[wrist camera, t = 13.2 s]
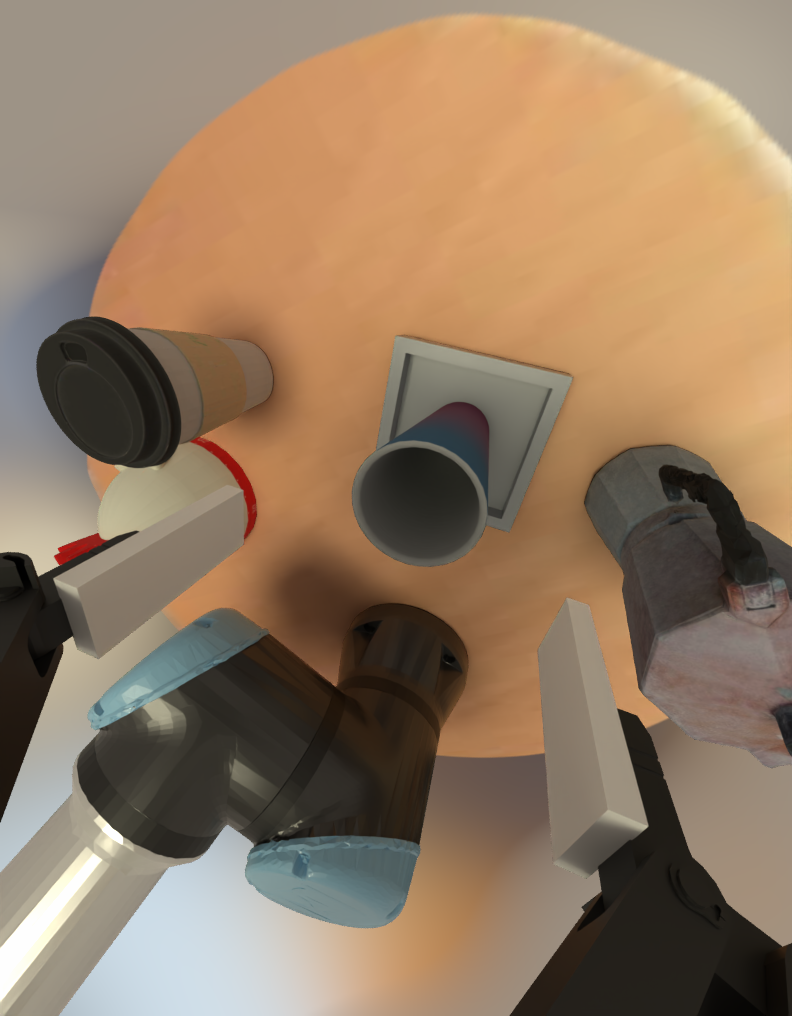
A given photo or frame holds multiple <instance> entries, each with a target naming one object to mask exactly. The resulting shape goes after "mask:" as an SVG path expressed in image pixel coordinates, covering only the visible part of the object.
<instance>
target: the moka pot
mask: <svg viewBox="0 0 792 1016" xmlns="http://www.w3.org/2000/svg"><path fill="white" fill-rule="evenodd" d="M584 504H585V507H586V510H587V512H588V514H589V516H590V518H591V520H592V523H593V525H594V527H595V529H596V531H597V533H598V534H599V536H600V537H601V538H602V540H603V541H604V543H605V545H606V546H607V548H608V549H609V550H610V552H611V553H612V555H613V556H614V558H615V560H616V561H617V562H618V564H619V565H620V567H621V568H622V570H623V573H624V581H623V587H622V592H623V599H624V604H625V609H626V615H627V622H628V627H629V632H630V638H631V644H632V650H633V657H634V663H635V667H636V674H637V680H638V687H639V689H640V691H641V692H642V694H643V695H644V696H645V697H646V698H647V699H649V700H650V701H651V702H652V703H653V704H654V705H655V706H657V707H658V708H659V709H660V710H661V711H662V712H663V713H664V714H666V715H667V716H668V717H669V718H670V719H671V720H672V721H673V722H674V723H675V724H676V725H678V726H679V727H680V728H681V729H682V730H683V731H684V732H685V733H686V734H687V735H688V736H690V737H692V738H693V739H695V740H700V741H705V742H711V743H715V744H720V745H725V746H733V747H737V748H741V749H745V750H748V751H749V752H750V753H751V754H752V755H753V756H755V757H756V758H757V759H758V760H759V761H760V762H761V763H762V764H763V765H764V766H767V767H770V768H774V767H778V766H784V765H792V547H791V546H789V545H788V544H786V543H785V542H783V541H782V540H780V539H779V538H777V537H776V536H774V535H773V534H771V533H770V532H768V531H767V530H765V529H764V528H762V527H760V526H759V525H757V524H756V523H754V522H748V521H747V520H746V519H745V518H744V516H743V514H742V512H741V511H740V508H739V505H738V503H737V501H736V500H735V499H734V498H733V494H732V493H731V492H730V491H729V490H728V489H727V487H726V486H725V485H724V484H723V483H722V482H721V480H720V478H719V477H718V475H717V474H716V472H715V471H714V469H713V468H712V466H711V465H710V463H708V462H707V461H705V460H704V459H702V458H700V457H699V456H697V455H695V454H693V453H691V452H689V451H686V450H684V449H681V448H679V447H676V446H651V447H642V448H634V449H629V450H627V451H626V452H624V453H622V454H620V455H619V456H617V457H616V458H615V459H613V460H611V461H610V462H609V463H608V464H606V465H605V466H604V467H603V468H602V469H601V470H600V471H599V472H598V473H597V474H596V475H595V477H594V478H593V480H592V482H591V485H590V488H589V490H588V493H587V496H586V500H585V503H584Z"/></svg>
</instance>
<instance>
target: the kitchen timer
mask: <svg viewBox="0 0 792 1016" xmlns="http://www.w3.org/2000/svg"><path fill="white" fill-rule="evenodd" d="M114 467H115V468H116V469H118V470H119V471H120V473H119V474H118V475H117V476H116V477H115V478H114V480H113V481H112V482H111V484H110V485H109V487H108V488H107V490H106V492H105V494H104V496H103V499H102V502H101V505H100V507H99V511H98V532H99V533H97V534H94V535H91V536H88V537H86V538H83V539H80V540H77V541H75V542H72V543H69V544H67V545H64V546H62V547H59V548H58V550H59V552H60V553H59V554H57V555H55V556H54V557H55V559H56V561H57V562H58V564H59V565H61V564H64V563H66V562H68V561H70V560H72V559H74V558H75V557H77V556H79V555H81V554H83V553H85V552H87V553H88V552H89V550H91V549H93V548H95V547H97V546H101V545H102V543H104V542H106V541H108V540H110V539H112V538H114V537H116V536H118V535H122V534H125V533H129V532H132V531H136V530H137V531H139V532H140V531H142V530H144V529H146V528H148V527H150V526H152V525H153V524H155V523H157V522H159V521H161V520H163V519H165V518H166V517H168V516H170V515H172V514H174V513H176V512H178V511H179V510H181V509H183V508H185V507H187V506H189V505H191V504H192V503H194V502H196V501H198V500H200V499H202V498H204V497H205V496H207V495H209V494H211V493H213V492H215V491H217V490H218V489H220V488H222V487H224V486H226V485H230V486H233V487H236V488H239V489H242V490H243V499H244V538H246V537H247V535H248V534H249V533H250V531H251V530H252V529H253V527H254V524H255V520H256V516H257V510H256V499H255V496H254V492H253V489H252V486H251V483H250V482H249V480H248V478H247V477H246V475H245V473H244V472H243V470H242V468H241V467H240V466H239V465H238V464H237V462H236V461H235V460H234V459H233V458H232V457H231V456H230V455H229V454H228V453H227V452H226V451H224V450H223V449H221V448H220V447H219V446H217V445H216V444H214V443H213V442H210V441H208V440H205V439H203V438H200V437H198V438H196V439H194V440H192V441H190V442H188V443H184V444H179V445H178V447H177V449H176V451H175V453H174V454H173V455H172V457H171V458H170V459H169V460H167V461H166V462H165V463H163V464H160V465H158V466H152V467H146V468H130V467H126V466H123V465H115V466H114Z"/></svg>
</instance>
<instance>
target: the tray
mask: <svg viewBox="0 0 792 1016" xmlns="http://www.w3.org/2000/svg"><path fill="white" fill-rule="evenodd" d="M572 380H573V377H572V376H571V375H570V374H569V373H565V372H561V371H556V370H552V369H548V368H544V367H539V366H535V365H531V364H527V363H522V362H518V361H514V360H510V359H505V358H501V357H497V356H493V355H488V354H484V353H480V352H476V351H471V350H467V349H463V348H459V347H454V346H450V345H446V344H442V343H437V342H433V341H429V340H425V339H420V338H416V337H412V336H408V335H396V336H395V342H394V348H393V354H392V359H391V365H390V371H389V377H388V383H387V388H386V394H385V400H384V406H383V412H382V418H381V423H380V429H379V435H378V441H377V447H376V450H378V449H379V448H381V447H382V446H384V445H385V444H387V443H388V442H390V441H391V440H393V439H394V438H396V437H397V436H399V435H400V434H402V433H403V432H405V431H407V430H408V429H410V428H411V427H413V426H414V425H416V424H417V423H419V422H420V421H422V420H423V419H425V418H426V417H428V416H429V415H431V414H432V413H434V412H435V411H437V410H438V409H440V408H441V407H443V406H445V405H447V404H449V403H453V402H466V403H469V404H472V405H474V406H476V407H477V408H478V409H479V410H481V411H482V413H483V414H484V415H485V417H486V419H487V421H488V425H489V477H488V515H487V521H486V525H487V526H490V527H493V528H496V529H499V530H503V531H506V532H510V530H511V527H512V525H513V523H514V520H515V518H516V515H517V513H518V510H519V508H520V506H521V503H522V501H523V498H524V496H525V493H526V491H527V489H528V486H529V484H530V481H531V479H532V476H533V474H534V472H535V469H536V467H537V464H538V462H539V460H540V457H541V455H542V452H543V450H544V447H545V445H546V443H547V440H548V438H549V435H550V433H551V430H552V428H553V426H554V423H555V421H556V418H557V416H558V413H559V411H560V409H561V406H562V404H563V401H564V399H565V396H566V394H567V392H568V389H569V387H570V384H571V382H572Z"/></svg>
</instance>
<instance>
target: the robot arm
mask: <svg viewBox="0 0 792 1016" xmlns="http://www.w3.org/2000/svg"><path fill="white" fill-rule="evenodd" d="M242 545H244V499H243V490H242V489H239V488H236V487H233V486H230V485H226V486H224V487H222V488H220V489H218V490H217V491H215V492H213V493H211V494H209V495H207V496H205V497H204V498H202V499H200V500H198V501H196V502H194V503H192V504H191V505H189V506H187V507H185V508H183V509H181V510H179V511H178V512H176V513H174V514H172V515H170V516H168V517H166V518H165V519H163V520H161V521H159V522H157V523H155V524H153V525H152V526H150V527H148V528H146V529H144V530H142V531H140V532H139V531H137V530H136V531H132V532H129V533H125V534H122V535H118V536H116V537H114V538H112V539H110V540H108V541H106V542H104V543H102V545H101V546H97V547H95V548H93V549H91V550H89V552H88V553H87V552H85V553H83V554H81V555H79V556H77V557H75V558H74V559H72V560H70V561H68V562H66V563H64V564H62V565H60V566H58V567H56V568H54V569H52V570H50V571H48V572H46V573H45V574H43V575H41V576H39V577H38V576H37V573H36V570H35V568H34V565H33V562H32V560H31V558H30V557H29V556H28V555H25V554H22V553H15V552H6V553H0V822H1V819H2V817H3V814H4V811H5V809H6V806H7V803H8V801H9V798H10V795H11V792H12V790H13V787H14V784H15V782H16V779H17V776H18V773H19V771H20V768H21V765H22V763H23V760H24V757H25V754H26V752H27V749H28V746H29V744H30V741H31V738H32V735H33V733H34V730H35V727H36V724H37V722H38V719H39V717H40V713H41V711H42V708H43V706H44V703H45V700H46V697H47V695H48V692H49V689H50V687H51V684H52V681H53V679H54V676H55V673H56V670H57V667H58V665H59V662H60V660H61V657H62V654H63V644H62V643H63V642H65V641H66V640H67V639H69V638H70V637H72V636H73V638H74V641H75V644H76V647H77V650H79V651H81V652H84V653H86V654H88V655H90V656H93V657H95V658H97V659H100V658H101V657H102V656H103V655H105V654H106V653H107V652H108V651H110V650H111V649H112V648H113V647H115V646H116V645H117V644H118V643H120V642H121V641H122V640H124V639H125V638H126V637H127V636H129V635H130V634H131V633H132V632H133V631H135V630H136V629H137V628H139V627H140V626H141V625H143V624H144V623H145V622H146V621H148V620H149V619H150V618H151V617H153V616H154V615H155V614H156V613H158V612H159V611H160V610H161V609H163V608H164V607H165V606H167V605H168V604H169V603H170V602H172V601H173V600H174V599H175V598H177V597H178V596H179V595H180V594H182V593H183V592H184V591H186V590H187V589H188V588H189V587H191V586H192V585H193V584H194V583H196V582H197V581H198V580H199V579H201V578H202V577H203V576H204V575H206V574H207V573H208V572H210V571H211V570H212V569H213V568H215V567H216V566H217V565H218V564H220V563H221V562H222V561H223V560H225V559H226V558H227V557H228V556H230V555H231V554H232V553H234V552H235V551H236V550H237V549H239V548H240V547H241V546H242ZM269 633H270V632H269V631H268V630H267V629H262V628H261V627H259V626H258V625H256V624H255V623H254V622H252V621H251V620H250V619H248V618H247V617H245V616H244V615H243V614H241V613H240V612H238V611H236V610H234V609H231V608H219V609H215V610H212V611H210V612H208V613H206V614H204V615H203V616H201V617H199V618H198V619H196V620H195V621H193V622H192V623H190V624H189V625H187V626H186V627H185V628H183V629H182V630H180V631H179V632H178V633H176V634H175V635H174V636H172V637H171V638H170V639H168V640H167V641H166V642H164V643H163V644H162V645H161V646H159V647H158V648H157V649H155V650H154V651H153V652H152V653H150V654H149V655H148V656H147V657H145V658H144V659H143V660H142V661H141V662H139V663H138V664H137V665H136V666H134V667H133V668H132V669H131V670H130V671H129V672H127V673H126V674H125V675H124V676H123V677H122V678H120V679H119V680H118V681H117V682H116V683H115V684H114V685H113V686H112V687H111V688H110V689H109V690H108V691H106V692H105V694H104V695H103V696H102V698H101V699H100V700H99V701H98V702H97V703H95V704H94V705H93V706H92V707H91V709H90V710H89V712H88V719H89V720H90V722H91V728H93V729H94V730H97V729H100V732H99V733H98V734H97V735H96V737H95V738H94V739H93V740H92V741H91V742H90V743H89V744H88V745H87V746H86V747H85V749H83V750H82V752H81V753H80V754H79V755H78V756H77V758H76V760H75V763H74V766H73V774H72V777H73V793H72V794H71V795H70V797H69V798H68V799H67V800H66V801H65V802H64V803H63V804H62V805H61V806H60V807H59V809H58V810H57V811H56V812H55V813H54V814H53V815H52V816H51V817H50V819H49V820H48V821H47V822H46V823H45V824H44V826H42V827H41V829H40V830H39V831H38V832H37V833H36V834H35V835H34V836H33V838H31V840H30V841H29V842H28V843H27V844H26V845H25V846H24V847H23V848H22V849H21V851H20V852H19V853H18V854H17V855H16V856H15V857H14V858H13V859H12V861H11V862H10V863H9V864H8V865H7V866H6V867H5V868H4V869H3V871H2V872H1V873H0V1016H59V1014H60V1013H61V1012H62V1010H63V1009H64V1008H65V1006H66V1005H67V1004H68V1002H69V1001H70V1000H71V998H72V997H73V995H74V994H75V993H76V991H77V990H78V988H79V987H80V986H81V985H82V983H83V982H84V980H85V979H86V978H87V977H88V975H89V974H90V973H91V971H92V970H93V968H94V967H95V966H96V964H97V963H98V962H99V960H100V959H101V957H102V956H103V955H104V954H105V952H106V951H107V950H108V948H109V947H110V946H111V944H112V943H113V941H114V940H115V939H116V937H117V936H118V935H119V933H120V932H121V931H122V929H123V928H124V927H125V925H126V924H127V922H128V921H129V920H130V918H131V917H132V916H133V915H134V913H135V912H136V910H137V909H138V908H139V906H140V905H141V904H142V902H143V901H144V900H145V898H146V897H147V896H148V894H149V893H150V892H151V890H152V889H153V887H154V886H155V885H156V883H157V882H158V881H159V879H160V878H161V876H162V875H163V874H164V873H165V871H166V870H167V869H168V868H169V867H172V866H177V865H181V864H186V863H190V862H193V861H195V860H197V859H199V858H200V857H201V856H203V854H204V853H205V852H206V851H207V850H208V849H209V847H210V846H211V844H212V843H213V842H214V840H215V839H216V838H217V836H218V835H219V833H220V832H221V831H222V829H223V828H224V827H225V826H226V825H229V826H231V827H232V828H234V829H235V830H236V831H238V832H240V833H241V834H242V835H243V836H245V837H247V838H248V839H249V840H250V841H251V842H252V843H253V844H254V848H252V849H251V850H250V853H249V854H248V856H247V860H248V862H247V865H246V869H245V876H246V878H247V880H248V882H249V884H251V885H253V886H254V887H255V888H256V890H257V891H258V892H259V893H261V894H262V895H264V896H265V897H267V898H268V899H270V900H272V901H274V902H276V903H278V904H280V905H282V906H284V907H286V908H289V909H291V910H293V911H296V912H298V913H301V914H304V915H306V916H309V917H312V918H316V919H319V920H322V921H325V922H329V923H334V924H338V925H342V926H348V927H356V928H376V927H381V926H384V925H387V924H388V923H390V922H392V921H393V920H394V919H395V918H396V917H397V916H398V915H399V914H400V913H401V911H402V909H403V907H404V905H405V902H406V899H407V895H408V891H409V887H410V883H411V880H412V876H413V872H414V867H415V864H416V860H417V858H418V856H419V854H420V846H419V844H420V838H421V833H422V827H423V822H424V817H425V812H426V806H427V800H428V795H429V790H430V785H431V779H432V774H433V768H434V763H435V758H436V752H437V746H438V741H439V736H440V731H441V728H442V727H443V725H444V723H445V722H446V720H447V718H448V717H449V715H450V713H451V712H452V710H453V708H454V707H455V705H456V703H457V701H458V700H459V698H460V696H461V695H462V693H463V690H464V688H465V684H466V679H467V672H468V656H467V653H466V650H465V648H464V645H463V644H462V642H461V640H460V639H459V637H458V636H457V635H456V634H455V632H454V631H453V630H452V629H451V628H450V627H449V626H447V625H446V624H445V623H444V622H442V621H441V620H440V619H438V618H437V617H435V616H433V615H431V614H430V613H427V612H425V611H423V610H420V609H418V608H415V607H411V606H406V605H400V604H383V605H377V606H374V607H371V608H369V609H366V610H365V611H363V612H362V613H360V614H359V615H358V616H357V617H356V618H355V620H354V621H353V623H352V625H351V626H350V628H349V630H348V632H347V634H346V636H345V639H344V642H343V647H342V654H341V661H340V668H339V675H338V682H337V686H336V687H335V686H333V685H332V684H331V683H330V682H329V681H328V680H326V679H325V678H324V677H323V676H321V675H320V674H319V673H318V672H316V671H315V670H314V669H313V668H311V667H310V666H309V665H308V664H306V663H305V662H304V661H303V660H301V659H300V658H299V657H298V656H296V655H295V654H294V653H293V652H291V651H290V650H289V649H288V648H286V647H285V646H284V645H283V644H281V643H280V642H279V641H278V640H276V639H275V638H274V637H273V636H272V635H270V634H269ZM538 662H539V676H540V690H541V704H542V718H543V732H544V747H545V761H546V775H547V789H548V803H549V817H550V831H551V844H552V859H553V864H555V865H557V866H559V867H561V868H563V869H565V870H568V871H570V872H572V873H574V874H577V875H579V876H581V877H584V878H586V879H587V878H588V877H589V876H590V875H592V874H593V873H594V872H595V871H596V870H598V871H599V877H600V883H601V890H602V892H600V893H599V894H598V895H596V896H595V897H594V898H593V899H591V900H590V901H589V902H587V903H586V904H585V905H584V906H582V908H583V910H584V911H585V912H584V913H583V915H582V916H581V918H580V919H579V920H578V922H577V923H576V924H575V926H574V927H573V929H572V930H571V931H570V933H569V934H568V936H567V937H566V938H565V940H564V941H563V943H562V944H561V945H560V947H559V948H558V949H557V951H556V952H555V953H554V955H553V956H552V958H551V959H550V960H549V962H548V963H547V965H546V966H545V967H544V969H543V970H542V971H541V973H540V974H539V976H538V977H537V979H536V980H535V981H534V983H533V984H532V985H531V987H530V988H529V989H528V991H527V992H526V994H525V995H524V996H523V998H522V999H521V1001H520V1002H519V1003H518V1005H517V1006H516V1007H515V1009H514V1010H513V1012H512V1013H511V1014H510V1016H792V943H791V944H788V945H786V946H783V947H782V946H781V945H779V944H778V943H777V942H776V941H774V940H773V939H772V938H770V937H769V936H768V935H766V934H765V933H764V932H762V931H761V930H760V929H758V928H757V927H756V926H755V925H753V924H752V923H751V922H749V921H748V920H747V919H746V918H744V917H743V916H741V915H740V914H739V913H738V912H736V911H735V910H734V909H733V908H732V907H731V906H729V905H728V904H727V903H726V901H725V899H724V897H723V895H722V894H721V892H720V890H719V888H718V886H717V884H716V883H715V881H714V880H713V879H712V878H711V877H710V875H709V874H708V873H707V871H706V870H705V869H704V868H703V866H701V865H700V864H699V863H698V862H697V861H696V860H695V859H694V858H692V856H691V853H690V851H689V849H688V846H687V843H686V840H685V837H684V834H683V831H682V828H681V825H680V822H679V819H678V816H677V813H676V810H675V807H674V804H673V801H672V798H671V795H670V792H669V789H668V786H667V783H666V780H665V779H663V776H664V774H663V771H662V768H661V765H660V762H658V760H657V759H658V756H657V753H656V750H655V747H654V744H653V741H652V738H651V736H650V734H649V733H648V732H647V730H646V728H645V727H644V725H643V724H642V722H641V721H640V719H639V718H638V716H636V715H634V714H631V713H628V712H626V711H623V710H620V709H618V708H617V707H616V703H615V700H614V696H613V692H612V689H611V685H610V681H609V677H608V674H607V670H606V666H605V663H604V659H603V655H602V651H601V648H600V644H599V640H598V637H597V633H596V629H595V625H594V622H593V618H592V614H591V611H590V607H589V605H588V604H585V603H582V602H579V601H576V600H573V599H570V598H566V600H565V602H564V603H563V605H562V607H561V609H560V611H559V612H558V614H557V616H556V618H555V620H554V621H553V623H552V625H551V627H550V628H549V630H548V632H547V634H546V636H545V637H544V639H543V641H542V643H541V645H540V646H539V648H538Z"/></svg>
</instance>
